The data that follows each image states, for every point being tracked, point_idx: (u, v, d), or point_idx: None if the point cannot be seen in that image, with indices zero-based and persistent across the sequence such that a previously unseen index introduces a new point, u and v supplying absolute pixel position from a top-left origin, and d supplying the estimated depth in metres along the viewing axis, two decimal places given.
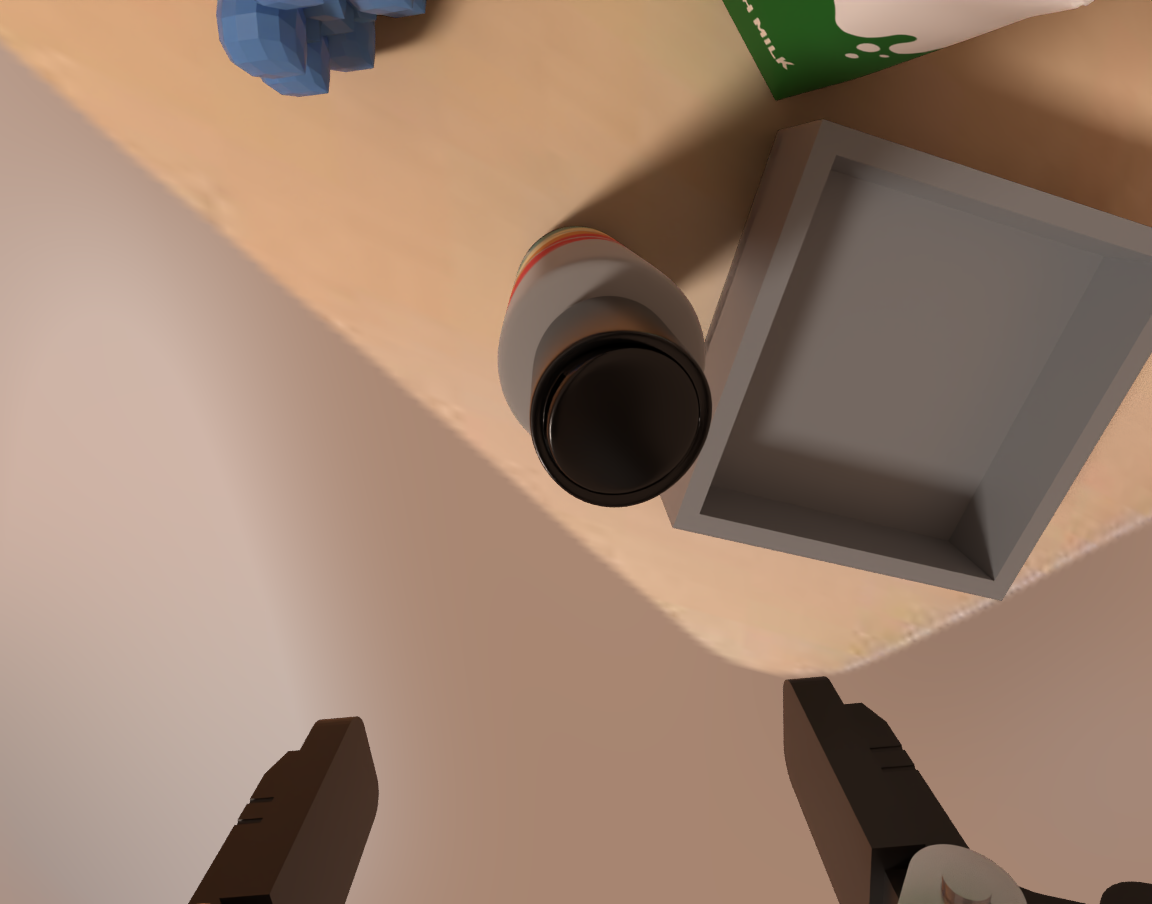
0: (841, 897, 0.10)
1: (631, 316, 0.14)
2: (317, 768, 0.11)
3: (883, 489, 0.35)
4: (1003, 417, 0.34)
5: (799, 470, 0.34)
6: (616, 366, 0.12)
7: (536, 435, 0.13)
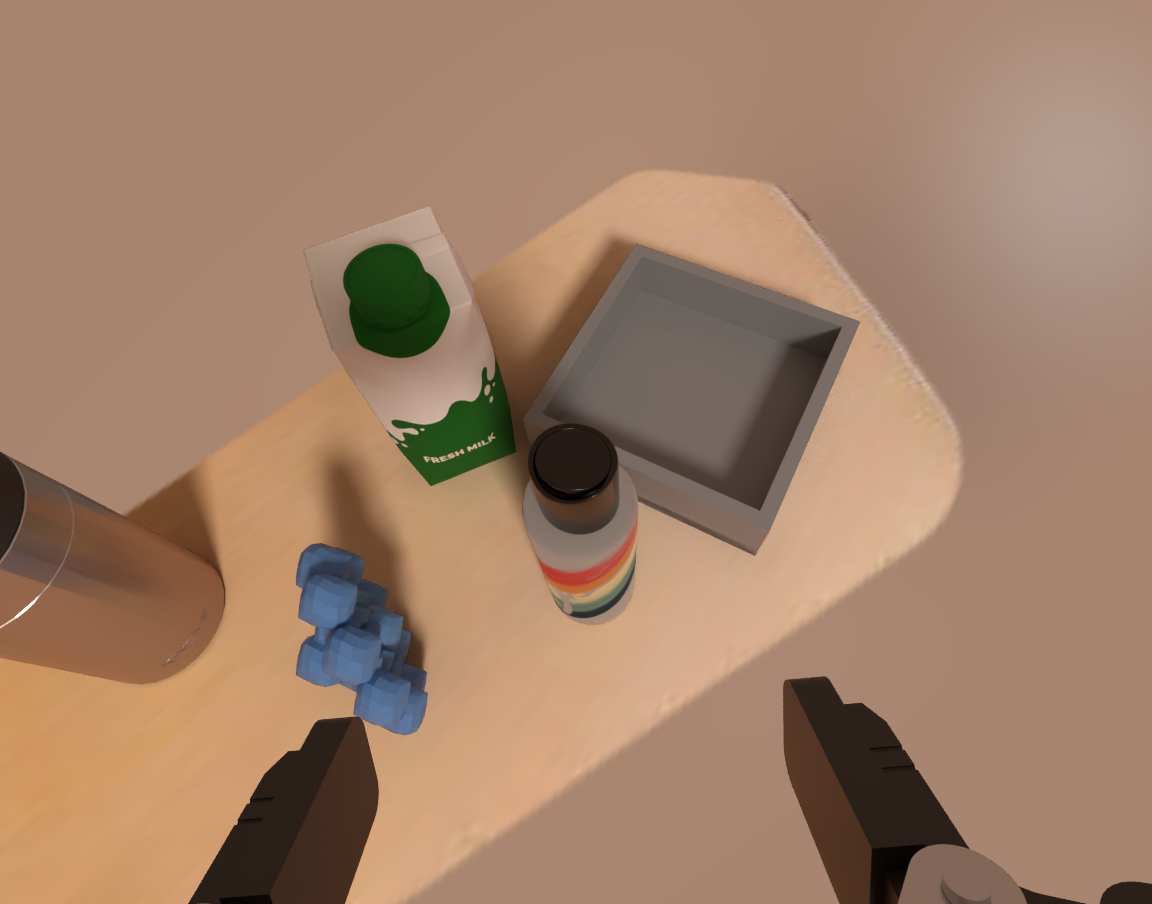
0: (841, 897, 0.10)
1: None
2: (317, 768, 0.11)
3: (778, 398, 0.49)
4: (733, 331, 0.52)
5: (754, 451, 0.47)
6: (542, 456, 0.27)
7: (570, 501, 0.27)
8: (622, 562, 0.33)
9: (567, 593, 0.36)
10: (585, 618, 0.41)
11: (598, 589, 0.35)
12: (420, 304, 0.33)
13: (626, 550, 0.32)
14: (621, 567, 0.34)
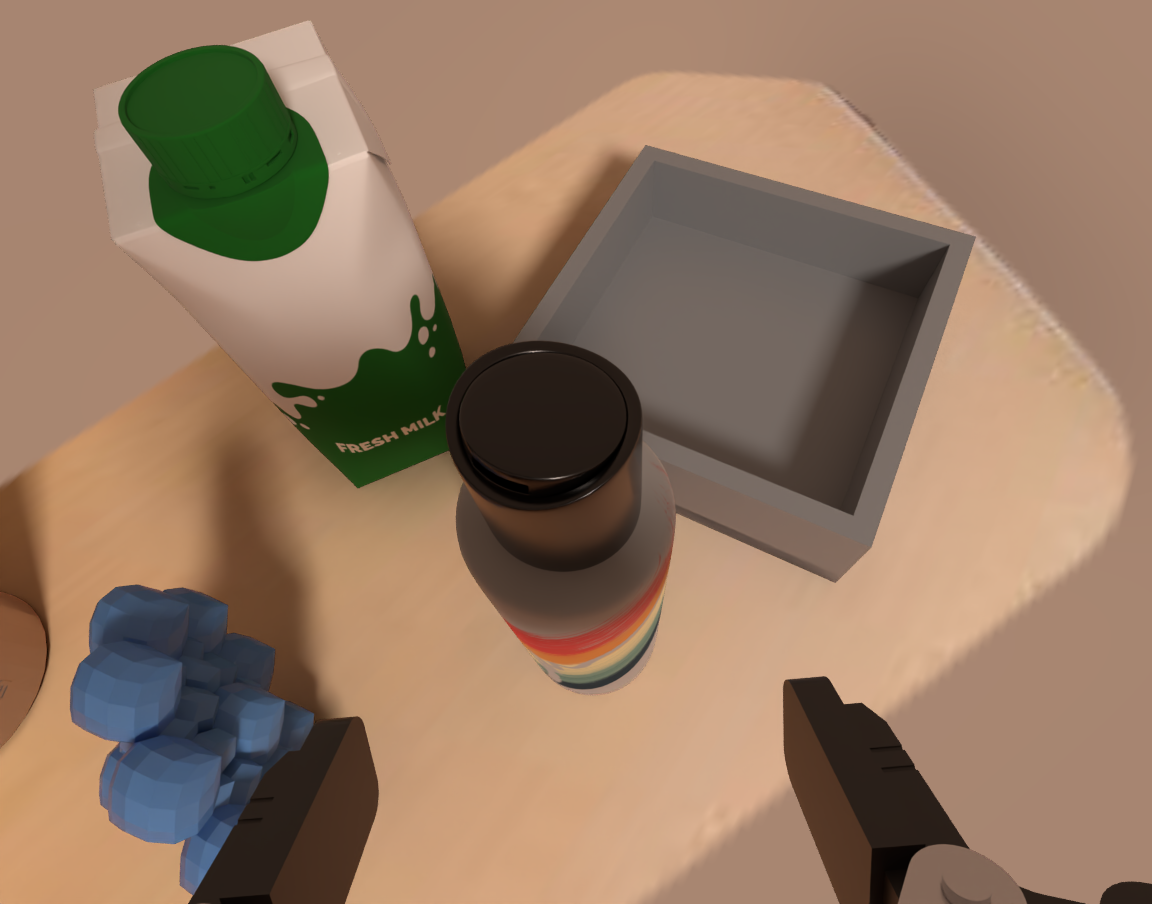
0: (841, 897, 0.10)
1: None
2: (317, 768, 0.11)
3: (853, 354, 0.34)
4: (782, 265, 0.37)
5: (824, 429, 0.32)
6: (475, 407, 0.12)
7: (537, 505, 0.12)
8: (645, 615, 0.18)
9: (550, 662, 0.21)
10: (582, 689, 0.26)
11: (602, 658, 0.20)
12: (268, 150, 0.18)
13: (653, 595, 0.17)
14: (643, 622, 0.19)
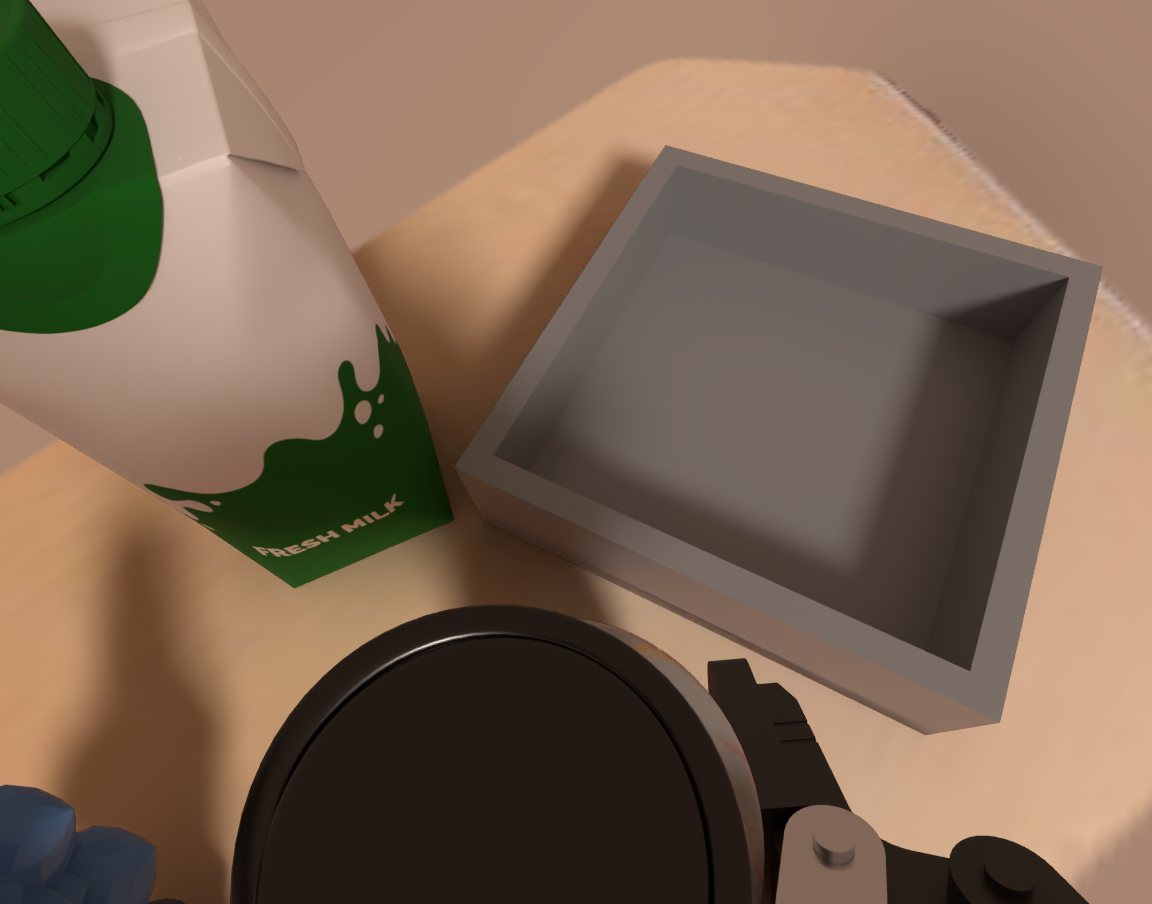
0: None
1: None
2: None
3: (934, 415, 0.27)
4: (837, 297, 0.30)
5: (903, 518, 0.25)
6: (301, 847, 0.05)
7: None
8: None
9: None
10: None
11: None
12: (39, 153, 0.10)
13: None
14: None
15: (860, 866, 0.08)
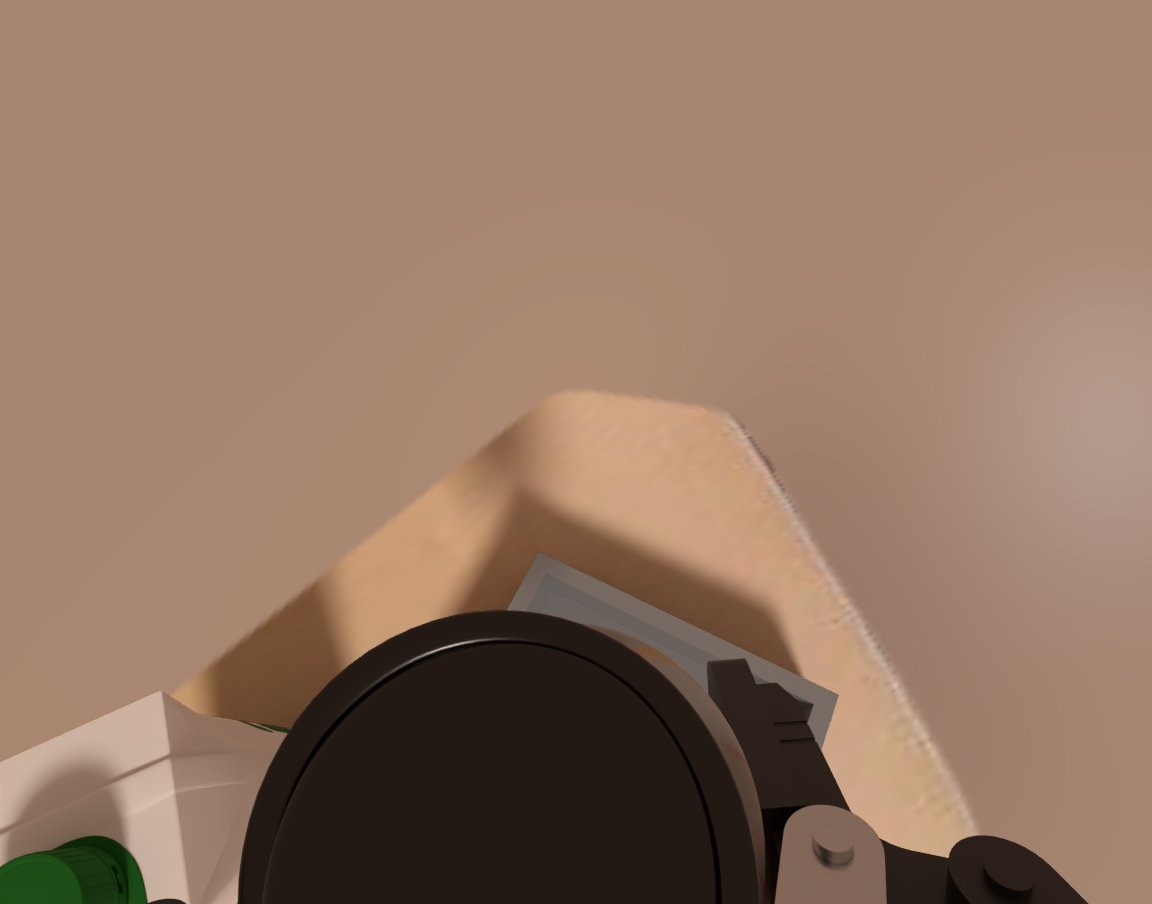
0: None
1: None
2: None
3: None
4: None
5: None
6: (308, 853, 0.05)
7: None
8: None
9: None
10: None
11: None
12: None
13: None
14: None
15: (859, 866, 0.08)
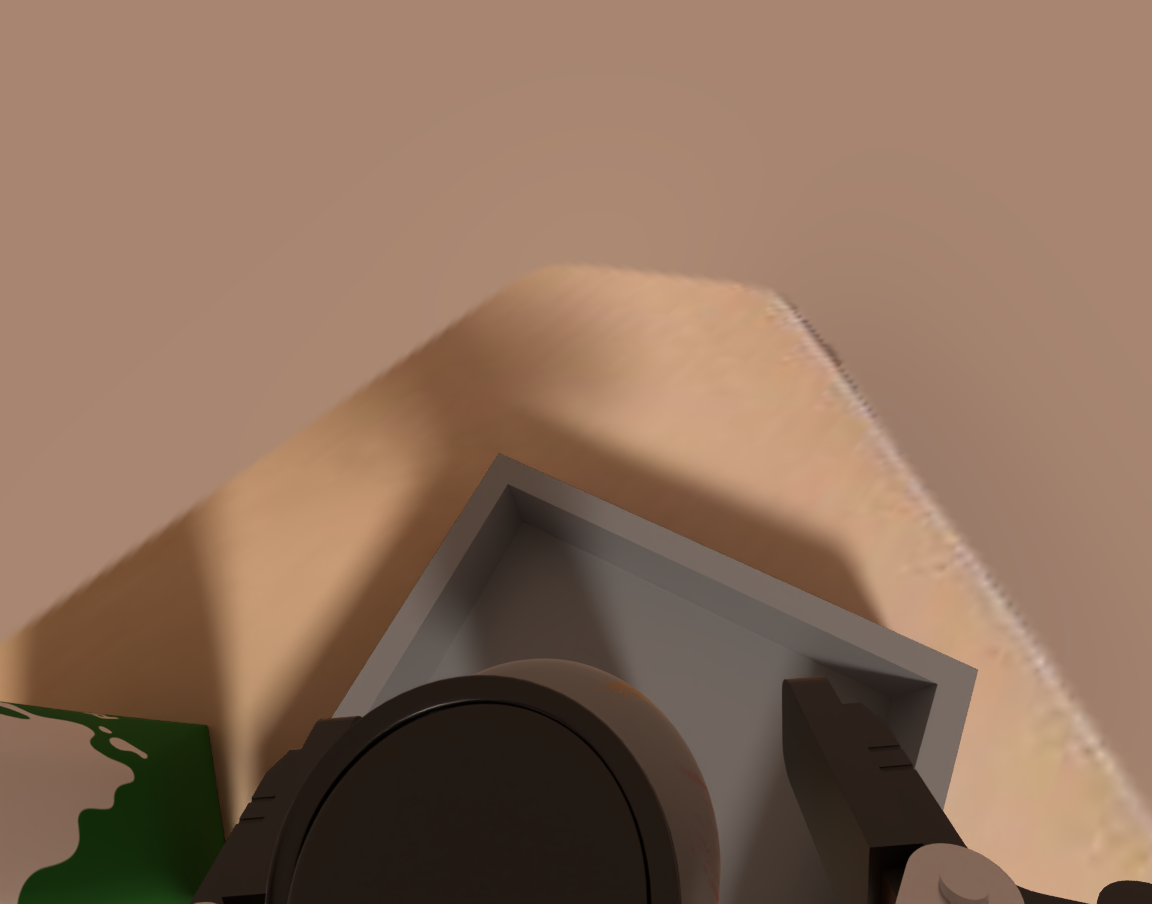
0: (839, 896, 0.10)
1: None
2: None
3: (792, 806, 0.23)
4: (698, 623, 0.26)
5: None
6: (322, 882, 0.06)
7: None
8: None
9: None
10: None
11: None
12: None
13: None
14: None
15: None
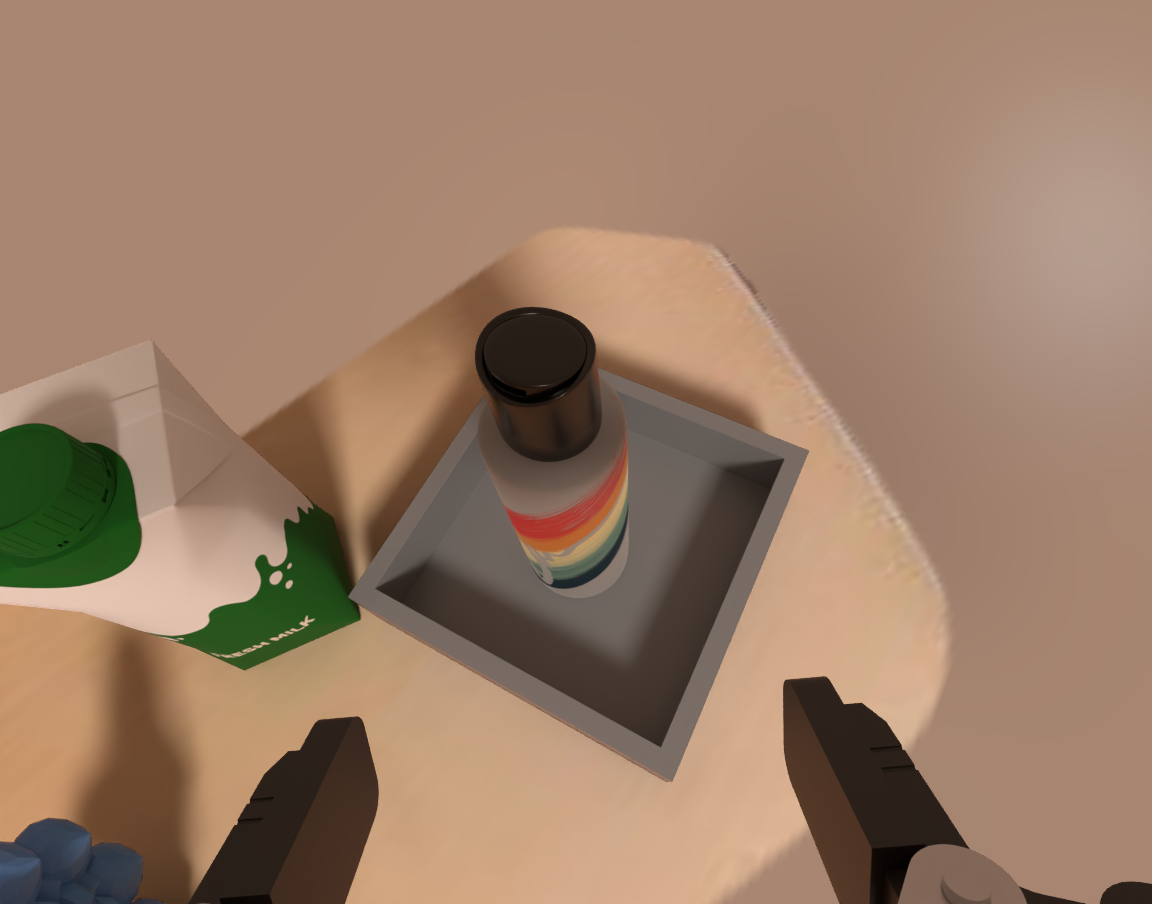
0: (841, 897, 0.10)
1: None
2: (317, 768, 0.11)
3: (704, 547, 0.37)
4: (651, 449, 0.40)
5: (669, 626, 0.35)
6: (493, 346, 0.20)
7: (531, 403, 0.19)
8: (609, 506, 0.26)
9: (543, 552, 0.29)
10: (569, 588, 0.34)
11: (581, 544, 0.28)
12: (79, 520, 0.21)
13: (613, 488, 0.25)
14: (608, 513, 0.27)
15: None
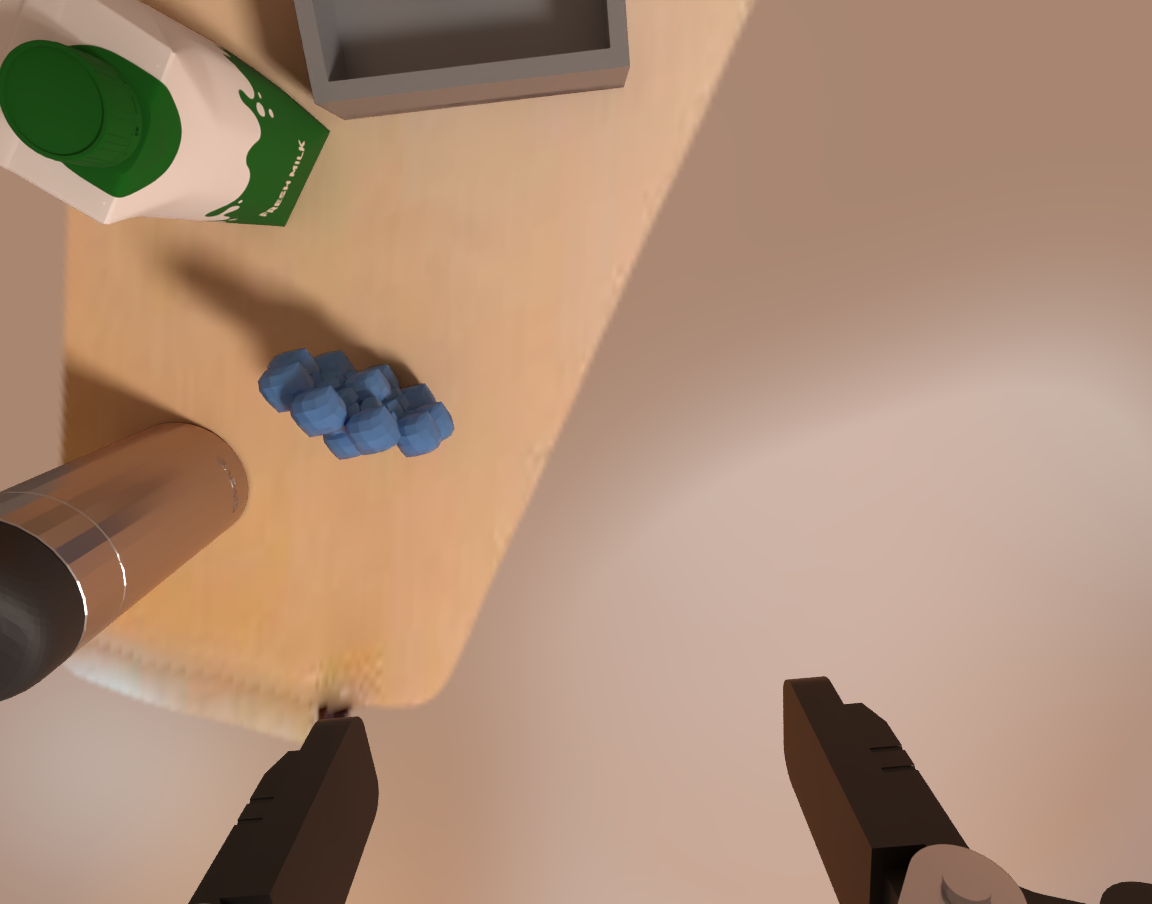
0: (841, 897, 0.10)
1: None
2: (317, 768, 0.11)
3: None
4: None
5: None
6: None
7: None
8: None
9: None
10: None
11: None
12: (129, 105, 0.25)
13: None
14: None
15: None
